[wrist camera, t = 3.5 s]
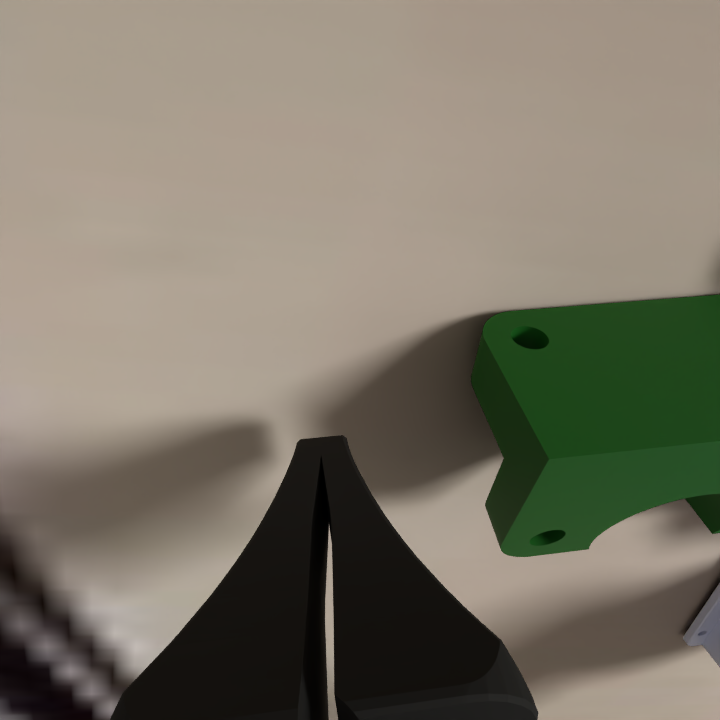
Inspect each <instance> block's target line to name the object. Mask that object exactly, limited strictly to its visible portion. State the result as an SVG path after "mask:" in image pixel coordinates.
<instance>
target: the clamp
mask: <svg viewBox="0 0 720 720" xmlns="http://www.w3.org/2000/svg"><path fill="white" fill-rule="evenodd" d="M471 383H472V387H473V389H474V391H475V394H476V396H477V398H478V400H479V403H480V405H481V407H482V410H483V412H484V414H485V416H486V419H487V421H488V423H489V425H490V428H491V430H492V432H493V435H494V437H495V439H496V441H497V444H498V446H499V448H500V450H501V453H502V455H503V457H504V460H503V462H502V464H501V467H500V469H499V471H498V474H497V476H496V479H495V481H494V483H493V486H492V488H491V491H490V493H489V495H488V498H487V500H486V503H485V506H486V509H487V512H488V515H489V518H490V520H491V523H492V526H493V529H494V532H495V534H496V537H497V540H498V543H499V545H500V548H501V551H502V552H503V553H505V554H507V555H510V556H515V557H528V556H537V555H545V554H553V553H561V552H570V551H578V550H586V549H589V546H590V544H591V543H592V541H593V540H594V539H595V538H596V537H597V536H598V535H600V534H601V533H602V532H604V531H605V530H606V529H608V528H610V527H611V526H613V525H615V524H616V523H618V522H620V521H622V520H624V519H626V518H628V517H630V516H633V515H635V514H637V513H640V512H642V511H645V510H647V509H650V508H653V507H656V506H659V505H662V504H665V503H669V502H672V501H676V500H680V499H686V500H687V502H688V503H689V504H690V505H691V507H692V508H693V509H694V511H695V512H696V513H697V515H698V516H699V517H700V518H701V520H702V521H703V522H704V524H705V525H706V526H707V528H708V529H709V530H710V531H711V533H712V534H715V533H720V295H709V296H696V297H683V298H670V299H658V300H645V301H632V302H620V303H607V304H594V305H581V306H569V307H556V308H543V309H530V310H518V311H507V312H502V313H499V314H496V315H494V316H493V317H491V318H490V319H488V321H487V322H486V323H485V325H484V327H483V331H482V335H481V339H480V343H479V347H478V351H477V355H476V359H475V363H474V367H473V371H472V375H471Z"/></svg>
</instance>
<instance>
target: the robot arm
mask: <svg viewBox="0 0 720 720" xmlns="http://www.w3.org/2000/svg"><path fill="white" fill-rule="evenodd" d="M329 526H330V533H331V540H332V560H333V606H334V691H335V701H336V707H337V714H338V720H537V718H538V711H537V708H536V706H535V703H534V700H533V697H532V695H531V693H530V691H529V689H528V687H527V685H526V683H525V681H524V679H523V677H522V675H521V673H520V671H519V669H518V667H517V666H516V664H515V662H514V660H513V659H512V657H511V655H510V654H509V652H508V650H507V649H506V647H505V645H504V644H503V642H502V641H501V640H500V639H499V638H498V637H497V636H496V635H495V634H494V633H493V632H491V631H490V630H489V629H488V628H487V627H486V626H485V625H484V624H482V623H481V622H480V621H479V620H478V619H477V618H476V617H475V616H474V615H473V614H472V613H471V612H469V611H468V610H467V609H466V608H465V607H464V606H463V605H462V604H461V603H460V602H459V601H458V600H457V599H456V598H455V597H454V596H453V595H452V594H451V593H450V592H449V591H448V590H447V589H446V588H445V587H444V586H443V585H442V584H441V583H440V582H439V581H438V579H437V578H436V577H435V576H434V575H433V574H432V573H431V572H430V571H429V570H428V569H427V567H426V566H425V565H424V564H423V563H422V562H421V561H420V560H419V559H418V558H417V556H416V555H415V554H414V553H413V551H412V550H411V549H410V548H409V547H408V545H407V544H406V543H405V542H404V540H403V539H402V538H401V536H400V535H399V534H398V532H397V531H396V530H395V529H394V527H393V526H392V524H391V523H390V522H389V520H388V519H387V517H386V516H385V514H384V513H383V511H382V510H381V508H380V507H379V505H378V504H377V502H376V501H375V499H374V497H373V496H372V494H371V492H370V491H369V489H368V487H367V485H366V483H365V481H364V480H363V478H362V476H361V474H360V472H359V470H358V468H357V466H356V464H355V462H354V459H353V457H352V455H351V452H350V449H349V446H348V443H347V438H346V437H344V436H343V435H341V436H331V437H320V438H310V439H301V440H300V441H298V442H297V445H296V449H295V452H294V455H293V458H292V460H291V463H290V465H289V468H288V470H287V472H286V475H285V477H284V479H283V481H282V483H281V485H280V487H279V490H278V492H277V494H276V496H275V498H274V500H273V502H272V503H271V505H270V507H269V509H268V511H267V512H266V514H265V516H264V518H263V520H262V521H261V523H260V525H259V527H258V528H257V530H256V532H255V533H254V535H253V536H252V538H251V540H250V541H249V543H248V544H247V546H246V547H245V549H244V550H243V552H242V553H241V555H240V556H239V558H238V559H237V561H236V562H235V563H234V565H233V566H232V568H231V569H230V570H229V572H228V573H227V574H226V576H225V577H224V579H223V580H222V581H221V583H220V584H219V585H218V587H217V588H216V589H215V590H214V592H213V593H212V594H211V596H210V597H209V598H208V599H207V601H206V602H205V603H204V604H203V605H202V606H201V608H200V609H199V610H198V611H197V612H196V614H195V615H194V616H193V617H192V618H191V620H190V621H189V622H188V623H187V624H186V625H185V627H184V628H183V629H182V630H181V631H180V633H179V634H178V635H177V636H176V637H175V638H174V639H173V640H172V642H171V643H170V644H169V645H168V646H167V647H166V648H165V649H164V650H163V651H162V652H161V653H160V654H159V655H158V656H157V657H156V659H155V660H154V661H153V662H152V663H151V664H150V665H149V666H148V667H147V668H146V669H145V670H144V671H143V672H142V673H141V674H140V675H139V676H138V677H137V679H136V680H135V681H134V682H133V683H132V684H131V685H130V686H129V687H128V688H127V689H126V690H125V691H124V692H123V694H122V696H121V698H120V700H119V702H118V704H117V706H116V708H115V710H114V712H113V715H112V717H111V719H110V720H329V719H328V694H327V667H326V638H325V592H326V572H327V552H328V531H329ZM683 639H684V641H685V642H686V643H687V645H689V646H698V645H703V647H704V648H705V649H706V650H707V652H708V653H709V654H710V656H711V657H712V658H713V659H714V661H715V662H716V663H717V665H718V666H719V667H720V583H719V584H718V586H717V587H716V589H715V590H714V592H713V593H712V595H711V596H710V598H709V599H708V601H707V602H706V604H705V605H704V607H703V608H702V610H701V611H700V613H699V614H698V616H697V617H696V619H695V620H694V622H693V623H692V624H691V626H690V627H689V629H688V630H687V632H686V633H685V635H684V637H683Z"/></svg>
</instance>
